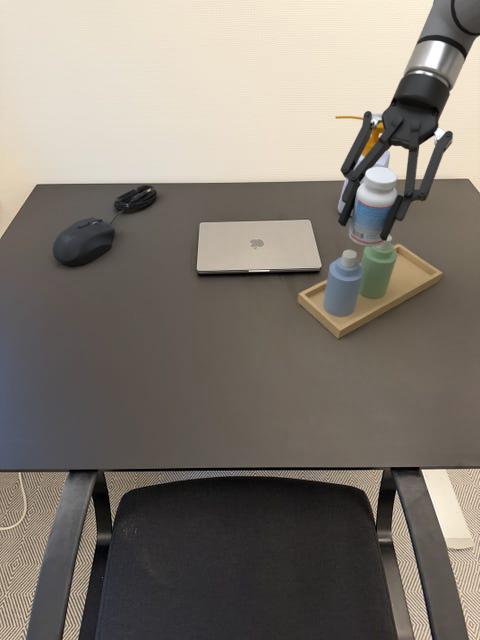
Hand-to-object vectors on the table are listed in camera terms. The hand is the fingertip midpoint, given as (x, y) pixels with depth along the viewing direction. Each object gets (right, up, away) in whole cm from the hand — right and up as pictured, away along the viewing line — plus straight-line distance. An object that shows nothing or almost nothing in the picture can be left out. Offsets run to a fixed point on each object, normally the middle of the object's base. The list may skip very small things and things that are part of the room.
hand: (362, 230), depth 72 cm
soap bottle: (+8, +14, +42) cm, 45 cm away
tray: (+7, -8, +21) cm, 24 cm away
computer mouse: (-48, +7, +36) cm, 61 cm away
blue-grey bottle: (0, -11, +17) cm, 20 cm away
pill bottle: (+2, 0, +5) cm, 5 cm away
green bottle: (+7, -8, +21) cm, 23 cm away
